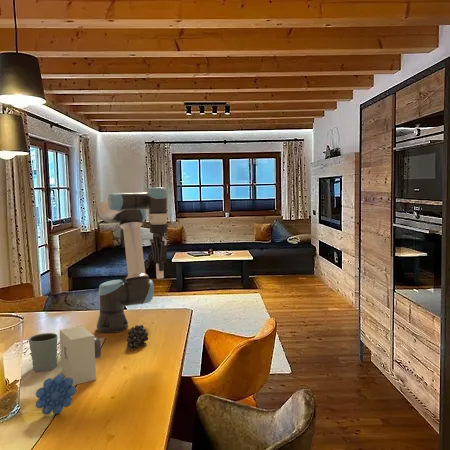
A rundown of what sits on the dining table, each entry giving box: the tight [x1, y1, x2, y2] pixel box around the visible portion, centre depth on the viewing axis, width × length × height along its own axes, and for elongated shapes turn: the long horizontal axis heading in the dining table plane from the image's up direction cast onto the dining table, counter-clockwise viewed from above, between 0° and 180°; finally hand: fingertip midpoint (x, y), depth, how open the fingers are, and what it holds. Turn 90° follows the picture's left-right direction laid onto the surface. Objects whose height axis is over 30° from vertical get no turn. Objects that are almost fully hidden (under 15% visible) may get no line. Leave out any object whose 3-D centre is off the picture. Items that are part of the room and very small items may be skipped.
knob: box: [66, 336, 102, 360], centre depth 169 cm, size 8×11×8 cm
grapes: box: [35, 373, 77, 416], centre depth 139 cm, size 12×7×12 cm, turn 107°
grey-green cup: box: [28, 332, 58, 372], centre depth 176 cm, size 10×10×12 cm
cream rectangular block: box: [59, 325, 97, 386], centre depth 168 cm, size 15×8×16 cm, turn 35°
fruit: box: [126, 324, 149, 351], centre depth 199 cm, size 9×8×15 cm
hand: (160, 278), depth 199 cm, fingers closed
